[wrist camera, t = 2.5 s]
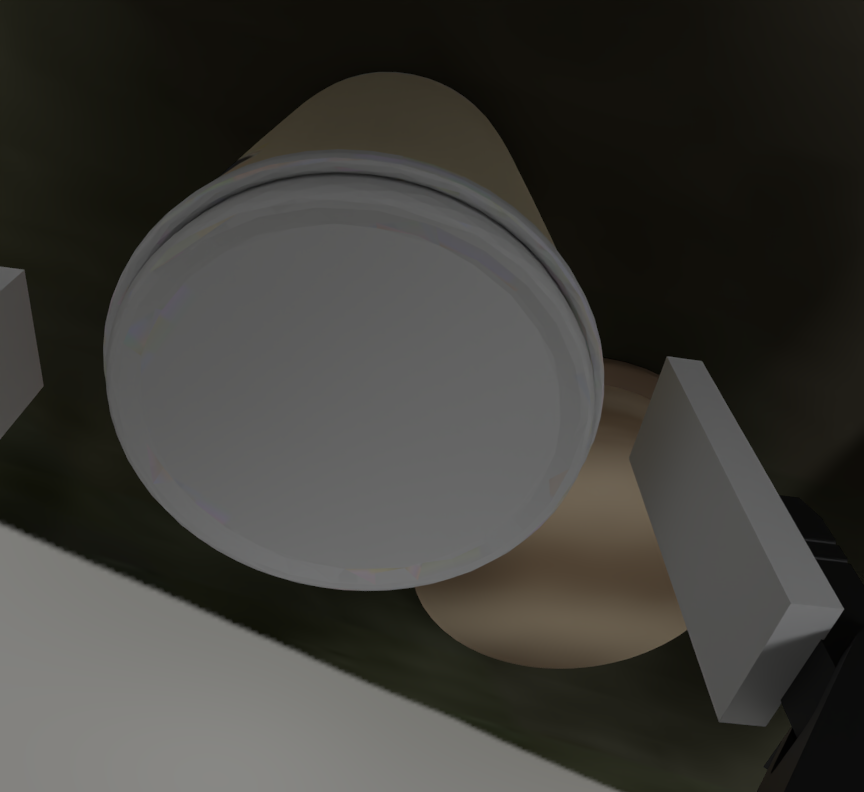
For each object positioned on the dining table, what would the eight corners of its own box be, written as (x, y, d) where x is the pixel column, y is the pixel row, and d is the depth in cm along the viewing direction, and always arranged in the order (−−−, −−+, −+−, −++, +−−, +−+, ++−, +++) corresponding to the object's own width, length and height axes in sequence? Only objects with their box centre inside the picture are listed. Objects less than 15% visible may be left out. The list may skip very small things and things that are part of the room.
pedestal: (420, 332, 26) (416, 396, 23) (777, 381, 27) (824, 450, 24) (380, 584, 33) (372, 661, 30) (663, 617, 34) (685, 695, 31)
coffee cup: (227, 29, 21) (23, 155, 11) (562, 46, 21) (665, 188, 11) (256, 324, 26) (137, 593, 16) (524, 337, 26) (570, 612, 16)
